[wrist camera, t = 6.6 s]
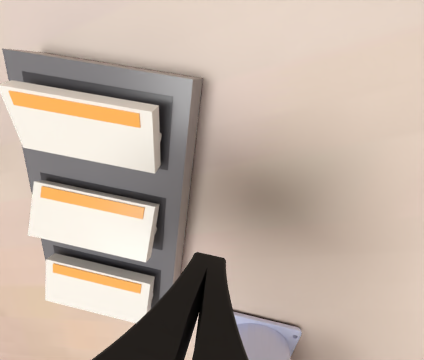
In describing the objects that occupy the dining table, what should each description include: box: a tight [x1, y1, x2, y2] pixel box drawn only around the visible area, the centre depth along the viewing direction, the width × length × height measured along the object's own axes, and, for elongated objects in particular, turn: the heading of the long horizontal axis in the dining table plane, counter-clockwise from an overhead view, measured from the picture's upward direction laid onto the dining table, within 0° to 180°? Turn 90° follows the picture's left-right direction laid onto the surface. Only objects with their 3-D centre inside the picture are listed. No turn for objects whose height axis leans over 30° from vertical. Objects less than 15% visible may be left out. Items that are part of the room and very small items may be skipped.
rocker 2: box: [45, 253, 155, 323], centre depth 21 cm, size 4×9×1 cm, turn 82°
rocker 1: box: [0, 80, 162, 174], centre depth 15 cm, size 4×9×1 cm, turn 81°
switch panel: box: [2, 49, 203, 308], centre depth 20 cm, size 21×12×3 cm, turn 172°
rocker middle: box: [28, 180, 160, 262], centre depth 18 cm, size 4×9×1 cm, turn 82°
